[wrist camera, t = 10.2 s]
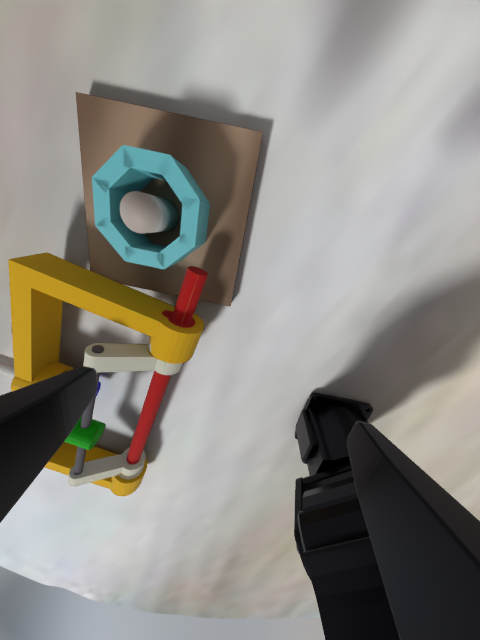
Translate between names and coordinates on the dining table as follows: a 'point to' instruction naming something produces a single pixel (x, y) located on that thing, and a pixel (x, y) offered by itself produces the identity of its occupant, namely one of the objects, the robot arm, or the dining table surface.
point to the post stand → (171, 191)
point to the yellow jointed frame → (98, 354)
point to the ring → (133, 175)
